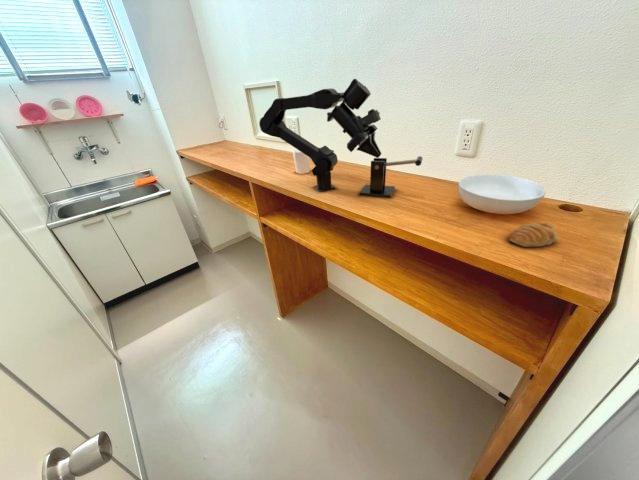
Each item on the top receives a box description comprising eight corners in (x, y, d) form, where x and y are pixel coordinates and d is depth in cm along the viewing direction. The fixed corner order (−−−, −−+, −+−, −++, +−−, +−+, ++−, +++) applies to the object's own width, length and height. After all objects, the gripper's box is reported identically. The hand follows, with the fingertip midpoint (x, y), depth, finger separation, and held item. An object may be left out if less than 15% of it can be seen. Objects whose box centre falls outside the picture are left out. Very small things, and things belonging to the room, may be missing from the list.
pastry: (527, 252, 55) (533, 237, 53) (499, 238, 61) (504, 224, 59) (557, 243, 58) (565, 228, 56) (528, 230, 63) (533, 216, 61)
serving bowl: (451, 216, 72) (456, 193, 69) (456, 191, 88) (460, 171, 84) (543, 228, 63) (554, 203, 60) (530, 198, 79) (538, 176, 75)
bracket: (394, 189, 94) (397, 157, 88) (390, 198, 87) (393, 163, 81) (365, 187, 98) (366, 156, 92) (359, 195, 91) (359, 162, 85)
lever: (422, 162, 83) (422, 155, 82) (421, 166, 79) (421, 158, 78) (376, 166, 90) (375, 160, 89) (373, 170, 86) (372, 163, 85)
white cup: (297, 169, 126) (294, 149, 121) (312, 169, 125) (310, 148, 119) (293, 174, 119) (290, 152, 114) (309, 174, 118) (307, 152, 113)
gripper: (357, 103, 72) (393, 144, 73) (372, 98, 86) (402, 133, 87) (332, 132, 79) (366, 169, 80) (350, 124, 93) (378, 155, 94)
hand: (379, 155), depth 85 cm, fingers closed
